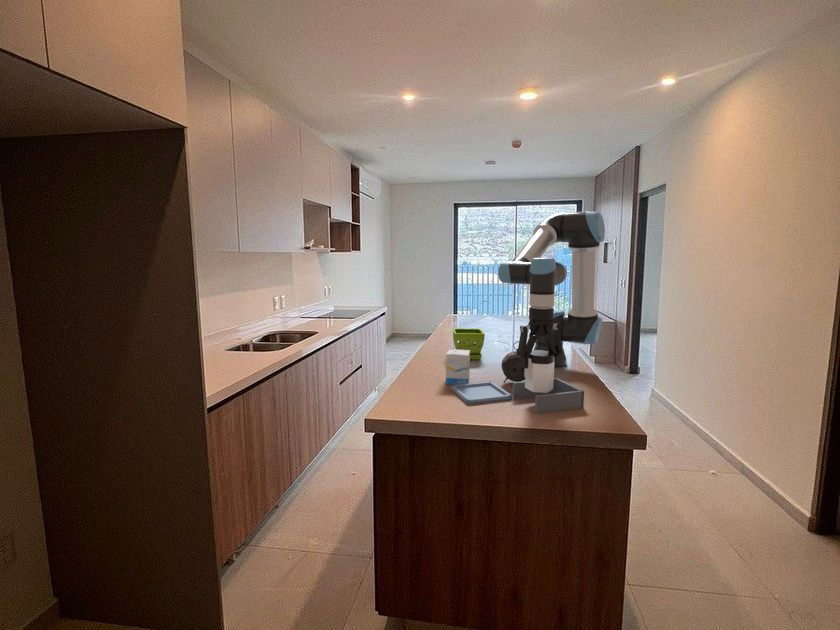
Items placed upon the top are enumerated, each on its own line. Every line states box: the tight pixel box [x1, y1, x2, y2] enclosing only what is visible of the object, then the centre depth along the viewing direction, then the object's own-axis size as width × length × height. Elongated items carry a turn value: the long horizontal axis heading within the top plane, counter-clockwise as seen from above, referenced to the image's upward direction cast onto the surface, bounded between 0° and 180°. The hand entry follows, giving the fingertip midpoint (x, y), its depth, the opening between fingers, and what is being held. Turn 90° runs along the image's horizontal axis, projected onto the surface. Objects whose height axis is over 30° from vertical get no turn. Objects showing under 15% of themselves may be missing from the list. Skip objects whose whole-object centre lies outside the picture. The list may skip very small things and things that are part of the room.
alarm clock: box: [501, 340, 525, 383], centre depth 161 cm, size 11×5×16 cm, turn 86°
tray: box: [450, 381, 513, 406], centre depth 151 cm, size 16×16×2 cm
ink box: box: [445, 348, 471, 385], centre depth 164 cm, size 9×8×12 cm
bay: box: [512, 377, 585, 415], centre depth 142 cm, size 17×15×6 cm
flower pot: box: [452, 327, 486, 361], centre depth 201 cm, size 14×14×13 cm
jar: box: [524, 349, 555, 393], centre depth 140 cm, size 9×8×12 cm
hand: (539, 376), depth 140 cm, fingers closed on jar, 8 cm apart
